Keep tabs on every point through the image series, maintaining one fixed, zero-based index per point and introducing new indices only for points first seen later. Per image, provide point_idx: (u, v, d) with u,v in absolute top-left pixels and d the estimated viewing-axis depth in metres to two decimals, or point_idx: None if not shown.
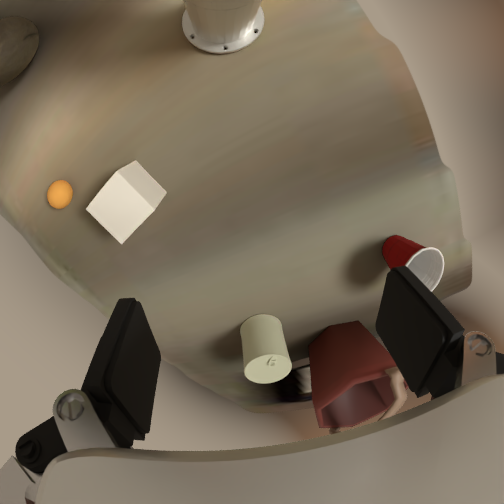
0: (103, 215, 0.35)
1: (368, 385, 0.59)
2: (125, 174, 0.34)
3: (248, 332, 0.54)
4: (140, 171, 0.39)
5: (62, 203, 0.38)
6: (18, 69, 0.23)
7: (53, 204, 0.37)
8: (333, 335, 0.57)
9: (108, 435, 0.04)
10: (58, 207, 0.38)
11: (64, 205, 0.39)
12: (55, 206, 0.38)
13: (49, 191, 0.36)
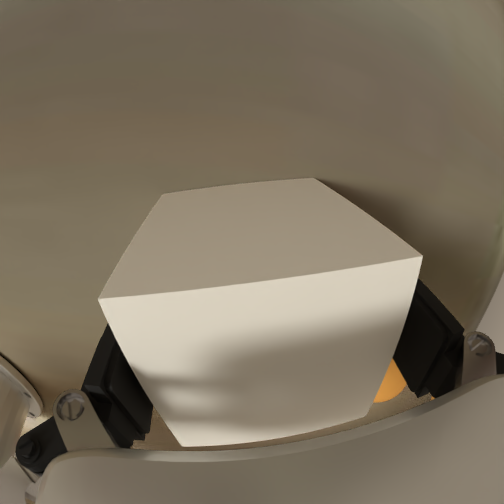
0: (348, 390, 0.08)
1: None
2: None
3: None
4: None
5: (391, 373, 0.16)
6: None
7: (404, 383, 0.16)
8: None
9: (108, 435, 0.04)
10: None
11: None
12: None
13: None
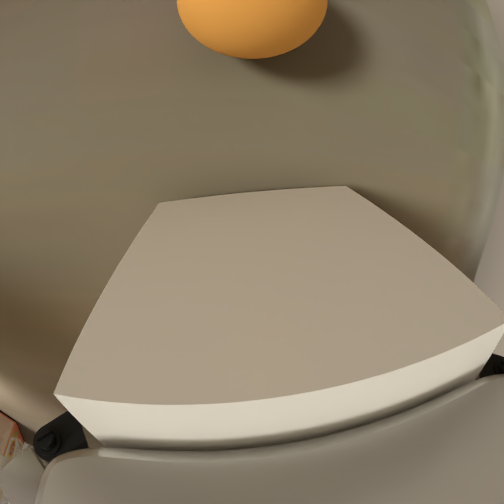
0: None
1: None
2: None
3: None
4: None
5: (242, 50, 0.07)
6: None
7: None
8: None
9: None
10: (287, 47, 0.07)
11: (262, 38, 0.06)
12: (285, 51, 0.07)
13: None
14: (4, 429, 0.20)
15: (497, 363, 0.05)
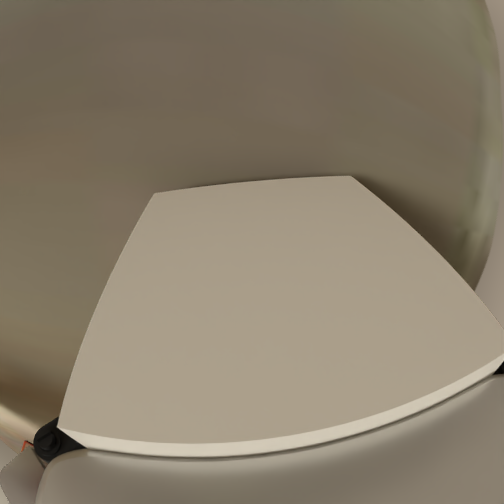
0: None
1: None
2: None
3: None
4: None
5: None
6: None
7: None
8: None
9: None
10: None
11: None
12: None
13: None
14: None
15: None
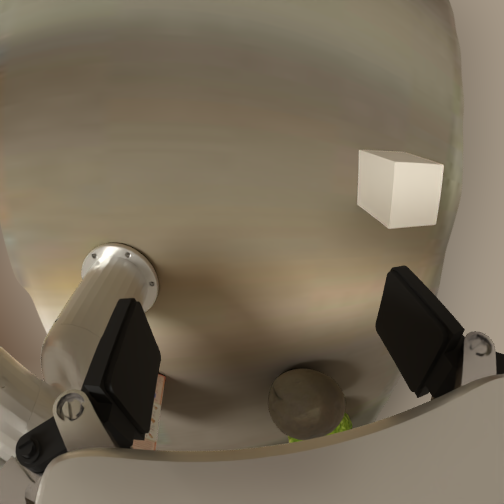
0: (431, 204, 0.28)
1: None
2: (383, 215, 0.29)
3: None
4: (364, 193, 0.34)
5: None
6: (307, 379, 0.43)
7: None
8: None
9: (108, 435, 0.04)
10: None
11: None
12: None
13: None
14: (157, 383, 0.46)
15: None
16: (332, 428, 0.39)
